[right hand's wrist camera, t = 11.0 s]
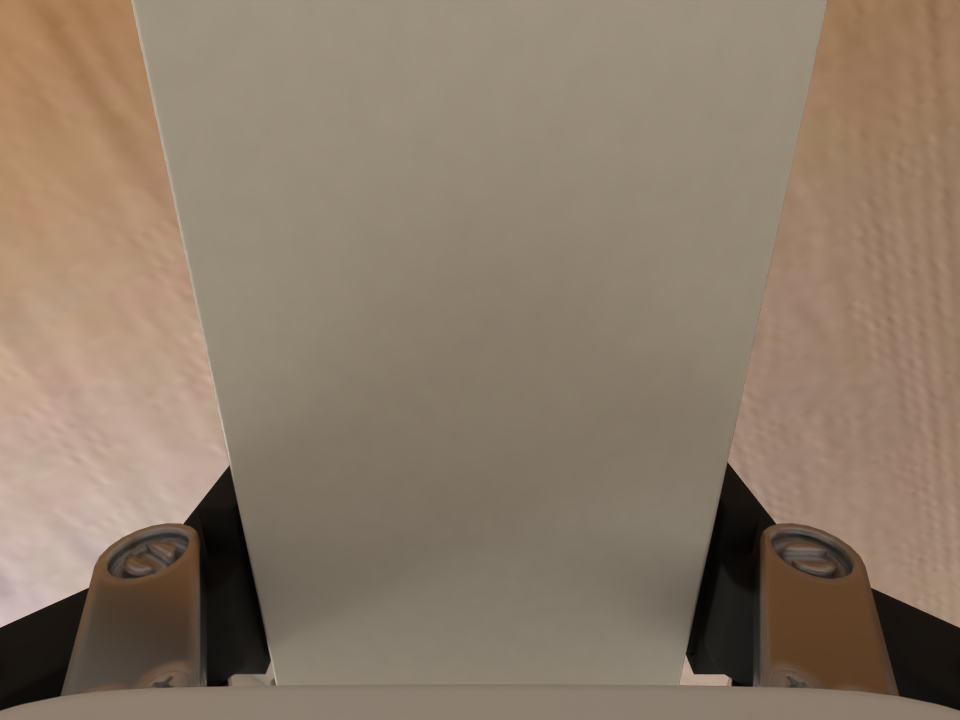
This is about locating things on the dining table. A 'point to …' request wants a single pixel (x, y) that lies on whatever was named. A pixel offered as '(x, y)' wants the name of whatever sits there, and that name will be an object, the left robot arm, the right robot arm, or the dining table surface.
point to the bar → (478, 311)
